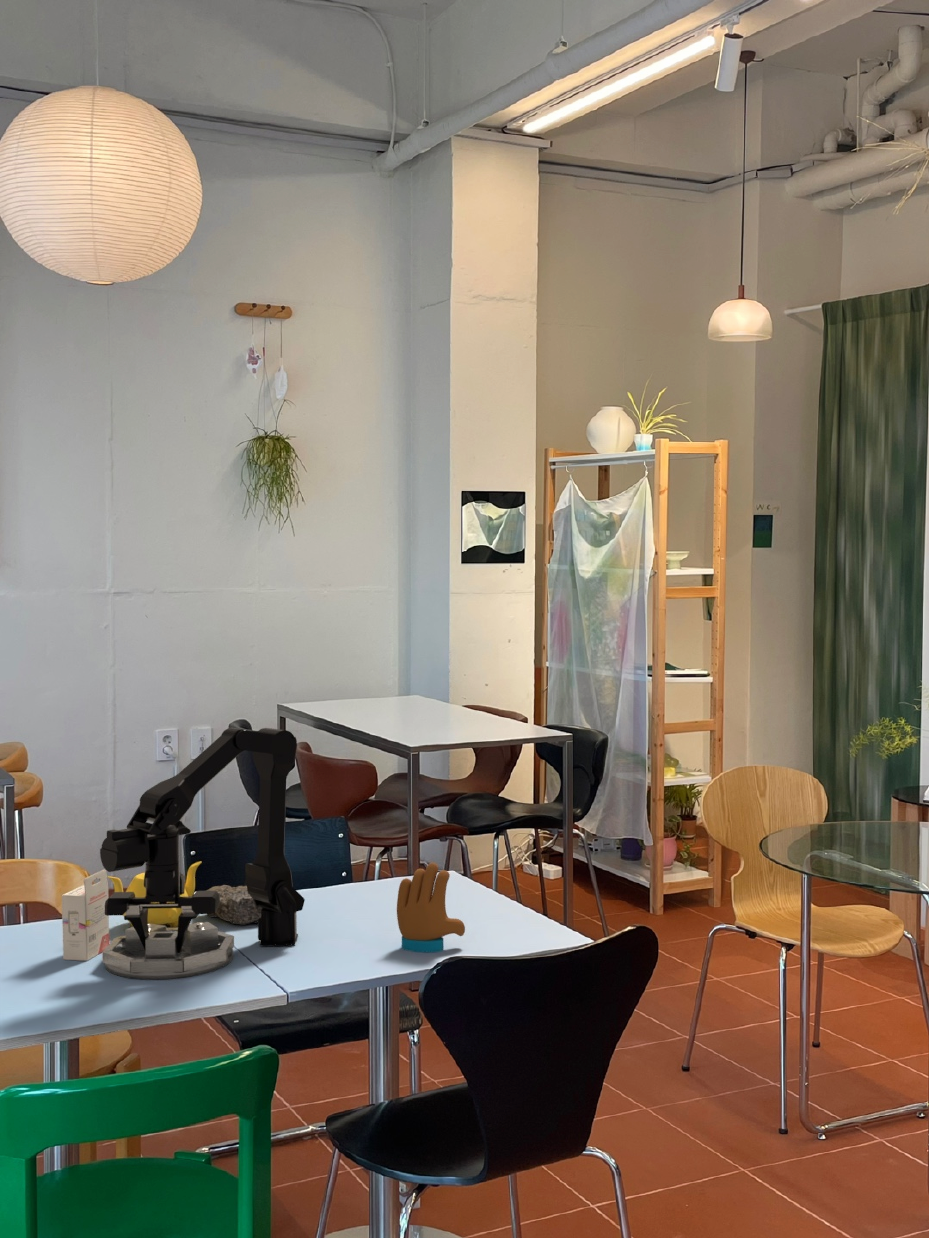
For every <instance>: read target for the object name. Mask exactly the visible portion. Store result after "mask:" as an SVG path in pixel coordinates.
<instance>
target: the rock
mask: <svg viewBox="0 0 929 1238" xmlns="http://www.w3.org/2000/svg"><path fill="white" fill-rule="evenodd" d="M205 891H217V892H218V893H219V895H220V906H219V908H218V909H217V911H216V912H215V913H213V914H206V915H207V916H208V917H212V918H215V917H216V918H220V919H221V920H224V921H226V922H229V923H231V924H237V925H240V926H245V925H248V924H251V923H254V924H255V923H257V924H258V918H259V916H260V915H261V910H262V908H261V907H256V906H255V903H254V900H253V898H252V897H251V896H250V894H248V892H247V886H245V885H238V886H236V887H235V886H231V885H226V884H223V885H217V886H216V885H215V886H211V888H209V889H207V890H206V889H205Z"/></svg>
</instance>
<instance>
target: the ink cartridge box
mask: <svg viewBox="0 0 929 1238" xmlns="http://www.w3.org/2000/svg"><path fill="white" fill-rule="evenodd" d="M107 873H108V872H107V870H106V869H105V868H103V869H102V870H99V871H97V872H95V873H93V874H91V875H90V876H87V877H85V878H83V884H82V885H80V886H78V887H77V888H73V889H72V890H70V891H68V892H66V893H64V894H61V895H60V896H61V915H62V916H61V918H62V923H61V924H62V952H63V953H62V954H63V955H62V959H63V960H64V961H65V960H66V961H67V960H68V961H81V962H83V961H84V962H85V961H86V962H87V961H90V960H91V959H93V958H94V957H96V956H97V955H99V954H101V953H102V952H103V950H104V949H105V948H106V947H107V946H108V945H109V944H110V916H107V915H105V901H106V900H107V899H108V898H109V884H108V877H107V876H108V874H107ZM98 879H99V881H98V882H96V883H94V884H93V882H95V880H98Z"/></svg>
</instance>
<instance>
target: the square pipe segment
mask: <svg viewBox="0 0 929 1238" xmlns="http://www.w3.org/2000/svg"><path fill="white" fill-rule="evenodd" d="M177 934H178V931H170V932H151V933H150V935H149V936H148V937H147V938H146V940H145V944H146V959H178V958H179V956H180V955H181V952H180V953H178V952H177Z"/></svg>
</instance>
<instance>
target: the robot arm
mask: <svg viewBox="0 0 929 1238" xmlns="http://www.w3.org/2000/svg"><path fill="white" fill-rule="evenodd" d="M297 749H298V741H297V737H296V736H295V735H294V734H293V733H292V732H291V731H290V730H285V729H277V728H269V727H264V728H263V727H262V728H260V729H259V730H257V731H249V730H247V729H245V728H238V727H229V728H227V729H225V730H223V732H222V733H221V735H220V736H219V737H218V738H217V739H216V740H214V742H212V743H211V744H210V745H209V746H208V747H207V748H206V749H204V750H203V751H202V752H201V753H200V754H198V755H197V757H195V758H194V759H193V760H192V761H190V763H189V764H187V766H185V767H184V768H183V769H181V771H179V773H177V774H176V775H174V776H172V777H170V778H167V779H164V780H163V781H160V782H158V783H157V784H155V785H154V786H152V787H150V788H149V789H147V790H146V791H145V792H143V793H142V795H141V796H140V798H139V805H138V807H137V809H136V810H135V812H134V814H132V817H131V819H130V820H129V822H128V823H127V824H126V828H124V829H109V830H107V831H106V837H105V839H104V840H103V841H102V844H101V848H99V854H100V855H99V858H100V860H101V861H100V862H101V864H102V866H103V869H106V872H107V873H108V872H109V873H111V872H117V871H118V872H119V871H122V870H123V871H124V870H129V869H130V870H131V869H135V868H140V867H143V866H144V865H145V869H144V870H145V871H144V873H145V876H144V887H145V888H146V896H145V897H135V894H134V892H126V891H123V892H115V891H113V893H112V894H111V895H110V896H108V899H107V900H106V901H105V915H107V916H109V917H110V916H123V914H124V913H125V916H123V920H124V921H128V920H129V921H130V922H131V923H130V922H129V921H128V922H129V923H130V925H131V924H132V925H133V926H132V927H134V929H135V930H136V932H137V934H138V936H139V938H140V940H141V943H142V945H143V947H144V949H145V952H146V944H145V940H146V938H147V937H148V936H149V929H148V908H181V910H182V913H181V914H180V915H179V918H178V927H177V928H178V934H177V952H178V953H180V952H181V949H182V946H183V943H184V939H185V936H186V933H187V930H188V927H189V925H190V924H191V922H192V920H196V919H197V918H198V917H199V915H207V914H213V913H215V912H216V911H217V909H218V908H219V906H220V895H219V893H218V892H217V891H206V890H196V891H195V892H194V894H193V896H192V897H180V895H182V894H184V890H185V883H186V875H184V874H183V873H181V865H180V836H183V835H188V834H191V831H192V830H191V829H190V828H188V827H187V826H186V825H185V824H184V823H183V821H182V819H183V817H184V816H185V814H186V813H187V812H188V811H189V810H190V808H192V806H193V802H194V801H195V797H196V795H197V794H198V793H199V792H200V791H201V790H202V789H203V788H205V786H206V785H207V784H208V783H209V782H211V781H212V780H213V779H214V778H215V777H216V776H217V775H218V774H220V772H221V771H222V770H224V769H225V768H226V767H227V766H228V765H229V764H230V763H232V761H234V759H236V758H237V757H238V756H240V754H241V753H243V752H244V751H248V752H251V754H252V761H253V764H254V766H255V769H256V771H257V773H258V776H259V792H258V793H259V795H258V821H257V823H258V827H257V853H256V856H255V858H254V860H253V862H252V863H248V862H247V863H245V867H244V869H245V870H244V871H245V880H244V882H243V883H244V884H243V886H247V892H248V894H250V896H251V897H252V898H253V900H254V903H255V906H256V907H261V908H262V910H261V915H260V916H259V918H258V922H257V939H258V941H259V946H260V947H265V946H266V947H270V946H272V947H273V946H274V947H276V946H279V947H281V946H282V947H283V946H295V945H296V943H297V940H298V937H299V933H297V931H298V930H297V927H298V926H297V923H298V922H297V912H301V911H303V908H304V905H305V901H306V900H305V898H304V897H303V896H302V895H301V894H300V892H299V891H297V889H295V888H294V887H293V878H292V870H291V868H290V865H289V863H288V860H287V859H286V856H285V836H286V835H285V833H286V831H285V829H286V806H287V805H286V804H287V803H286V802H287V800H286V799H287V778H288V776H289V773H290V771H291V770H292V768H293V767H294V764H295V761H296V757H297V756H296V755H297ZM147 821H148V822H147ZM150 822H152V823H150ZM151 902H152V903H151ZM153 902H154V903H153ZM155 902H156V903H155ZM157 902H159V903H157ZM167 902H175V903H167Z"/></svg>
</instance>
